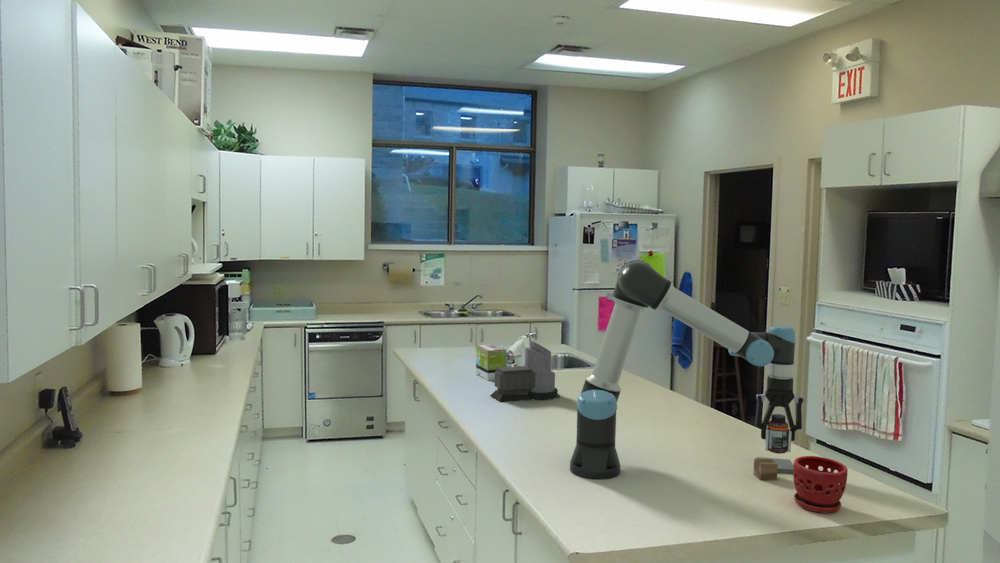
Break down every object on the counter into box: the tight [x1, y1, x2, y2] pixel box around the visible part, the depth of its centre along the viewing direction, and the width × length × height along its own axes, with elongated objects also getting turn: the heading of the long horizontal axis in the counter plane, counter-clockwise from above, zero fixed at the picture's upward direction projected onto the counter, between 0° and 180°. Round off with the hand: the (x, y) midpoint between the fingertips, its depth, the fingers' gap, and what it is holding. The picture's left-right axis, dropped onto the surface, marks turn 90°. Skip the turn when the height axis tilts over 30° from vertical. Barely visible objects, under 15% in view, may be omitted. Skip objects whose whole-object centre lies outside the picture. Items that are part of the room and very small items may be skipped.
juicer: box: [489, 340, 561, 403], centre depth 311 cm, size 30×16×24 cm, turn 111°
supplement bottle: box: [767, 413, 789, 454], centre depth 224 cm, size 6×6×11 cm
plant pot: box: [792, 455, 849, 514], centre depth 193 cm, size 13×13×12 cm
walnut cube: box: [753, 458, 778, 481], centre depth 216 cm, size 5×5×5 cm
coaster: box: [756, 456, 794, 475], centre depth 225 cm, size 10×10×1 cm
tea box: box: [475, 343, 507, 381], centre depth 350 cm, size 15×10×15 cm, turn 25°
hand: (777, 449), depth 225 cm, fingers closed on supplement bottle, 6 cm apart
